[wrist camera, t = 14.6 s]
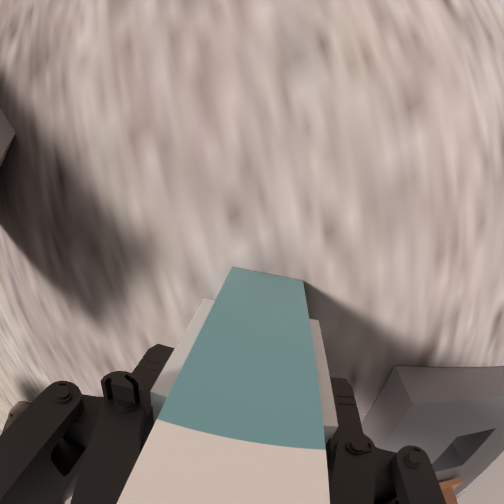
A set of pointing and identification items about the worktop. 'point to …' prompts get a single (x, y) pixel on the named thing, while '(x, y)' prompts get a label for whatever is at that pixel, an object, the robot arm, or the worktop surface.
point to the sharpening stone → (5, 136)
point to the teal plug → (241, 407)
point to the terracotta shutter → (450, 489)
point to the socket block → (442, 417)
